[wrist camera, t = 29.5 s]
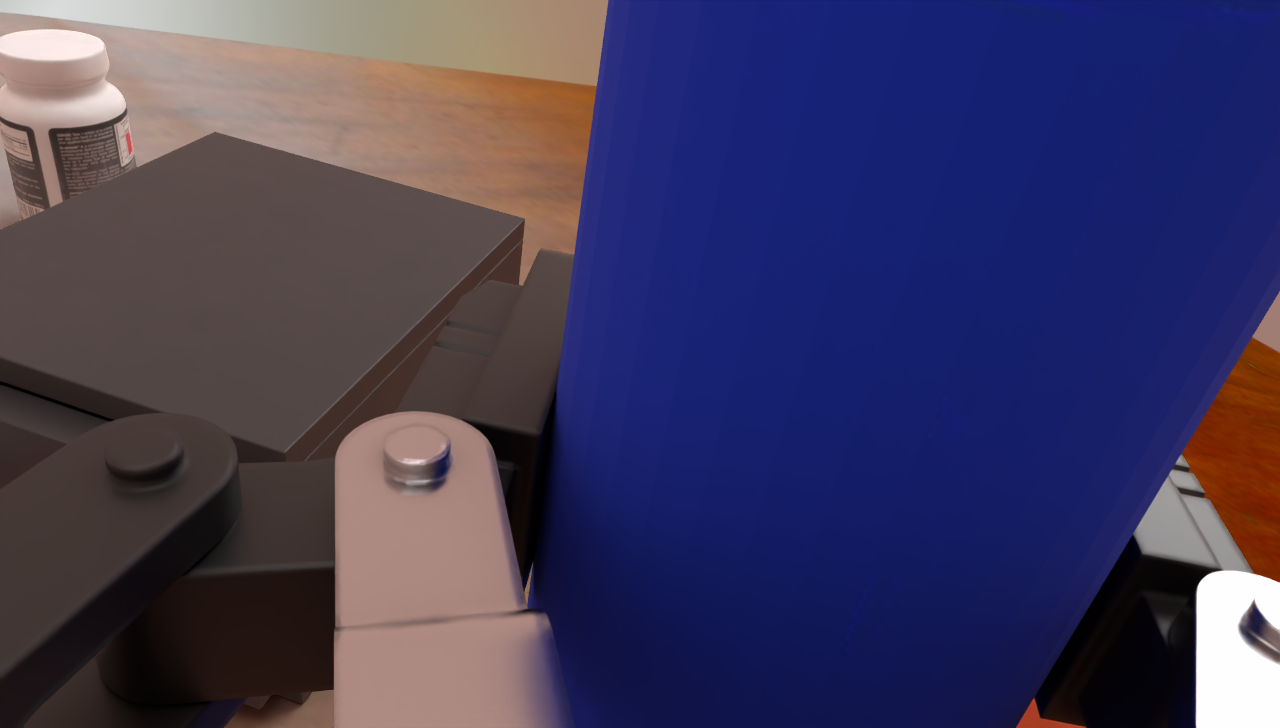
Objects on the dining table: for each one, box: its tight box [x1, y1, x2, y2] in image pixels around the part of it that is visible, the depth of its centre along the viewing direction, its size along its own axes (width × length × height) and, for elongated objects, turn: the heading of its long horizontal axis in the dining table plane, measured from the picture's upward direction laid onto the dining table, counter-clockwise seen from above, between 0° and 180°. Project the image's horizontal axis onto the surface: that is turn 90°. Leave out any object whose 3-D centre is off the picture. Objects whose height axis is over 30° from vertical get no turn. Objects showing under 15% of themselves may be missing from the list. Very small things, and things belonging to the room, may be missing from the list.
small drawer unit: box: [0, 132, 525, 704], centre depth 34 cm, size 16×14×10 cm
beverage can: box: [527, 0, 1280, 728], centre depth 10 cm, size 5×5×15 cm
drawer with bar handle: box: [0, 381, 271, 710], centre depth 31 cm, size 19×13×8 cm, turn 163°
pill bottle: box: [0, 30, 137, 220], centre depth 48 cm, size 6×6×10 cm
